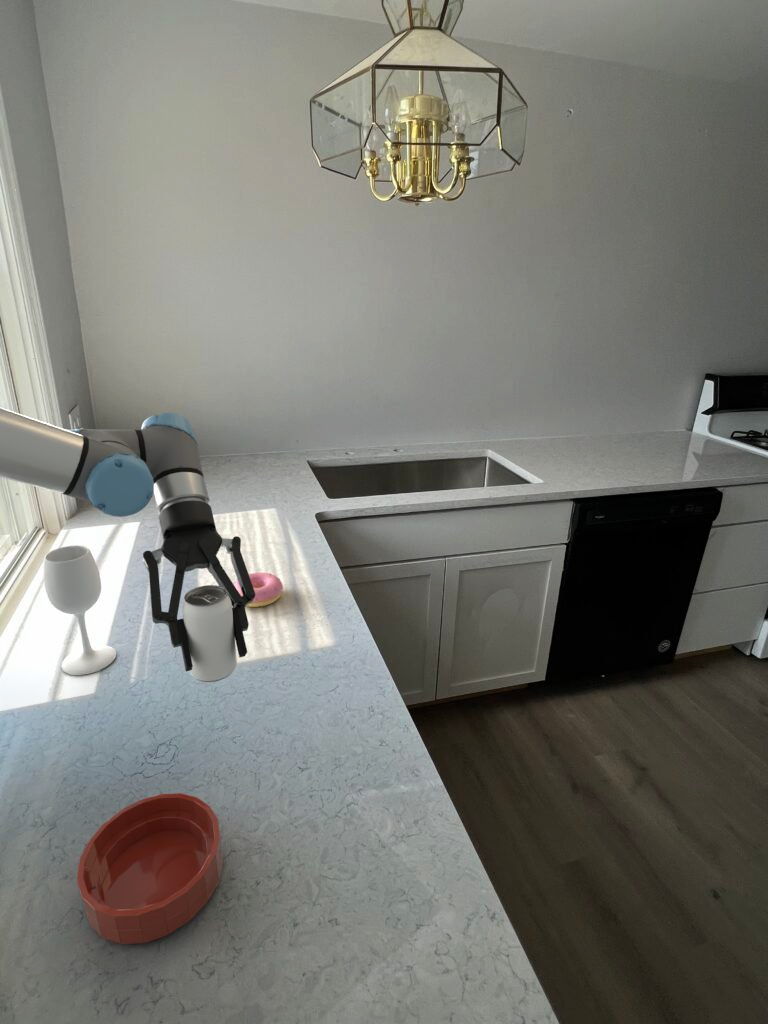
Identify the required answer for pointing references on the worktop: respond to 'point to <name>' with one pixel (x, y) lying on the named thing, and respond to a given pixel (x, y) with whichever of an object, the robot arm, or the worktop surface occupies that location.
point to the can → (210, 632)
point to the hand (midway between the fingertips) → (216, 661)
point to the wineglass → (76, 602)
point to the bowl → (150, 868)
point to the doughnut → (263, 588)
